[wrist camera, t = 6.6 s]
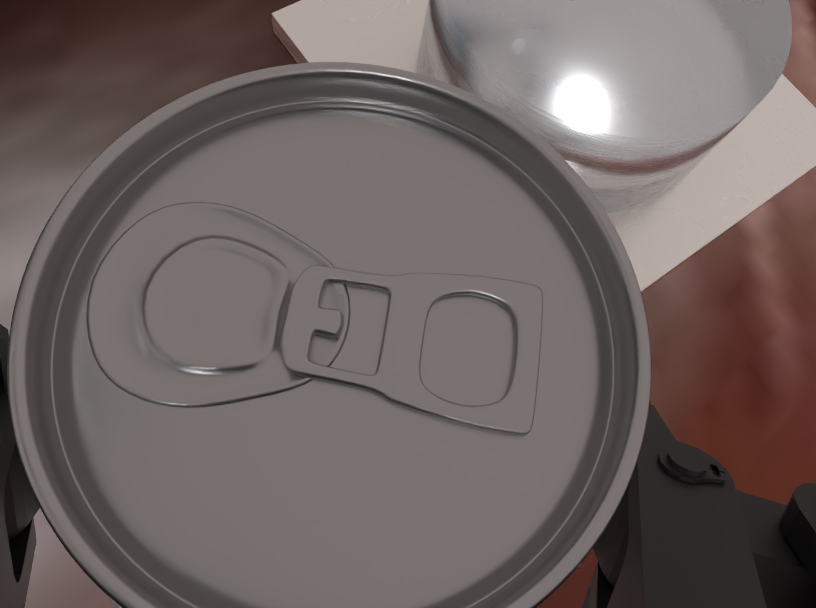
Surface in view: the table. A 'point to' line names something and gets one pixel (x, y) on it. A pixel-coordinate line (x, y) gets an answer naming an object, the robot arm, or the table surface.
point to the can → (329, 352)
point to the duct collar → (608, 96)
